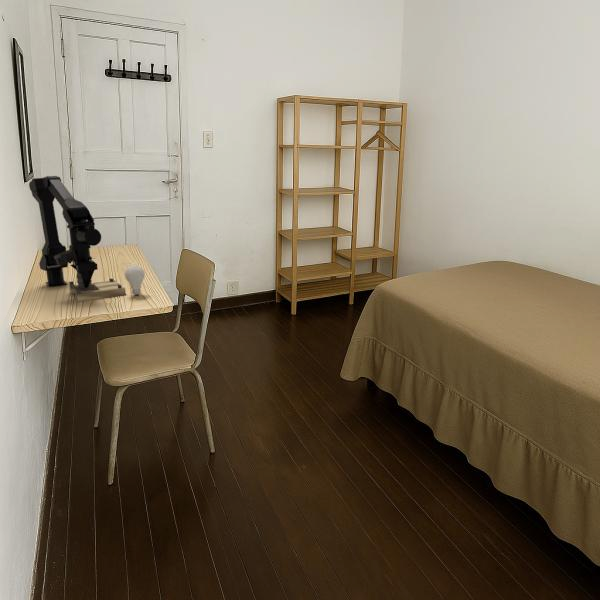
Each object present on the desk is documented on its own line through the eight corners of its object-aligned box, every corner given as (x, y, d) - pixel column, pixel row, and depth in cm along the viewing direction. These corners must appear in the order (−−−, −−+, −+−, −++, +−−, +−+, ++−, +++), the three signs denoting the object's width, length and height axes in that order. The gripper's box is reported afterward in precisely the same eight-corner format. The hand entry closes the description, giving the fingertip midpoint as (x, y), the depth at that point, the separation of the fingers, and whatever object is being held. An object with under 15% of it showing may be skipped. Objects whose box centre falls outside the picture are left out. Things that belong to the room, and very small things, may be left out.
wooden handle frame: (70, 292, 190) (68, 281, 189) (115, 286, 199) (114, 275, 198) (78, 301, 179) (76, 289, 178) (125, 294, 188) (124, 283, 186)
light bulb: (123, 295, 187) (120, 264, 184) (140, 291, 191) (138, 262, 188) (132, 299, 182) (129, 267, 179) (150, 295, 187) (147, 264, 184)
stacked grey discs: (76, 288, 187) (74, 272, 185) (90, 287, 189) (88, 270, 188) (79, 291, 183) (77, 275, 181) (93, 289, 186) (92, 273, 184)
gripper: (49, 240, 185) (55, 283, 189) (59, 248, 170) (65, 295, 174) (83, 237, 191) (88, 279, 195) (95, 245, 176) (100, 290, 180)
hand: (84, 286), depth 186 cm, fingers closed on stacked grey discs, 5 cm apart
